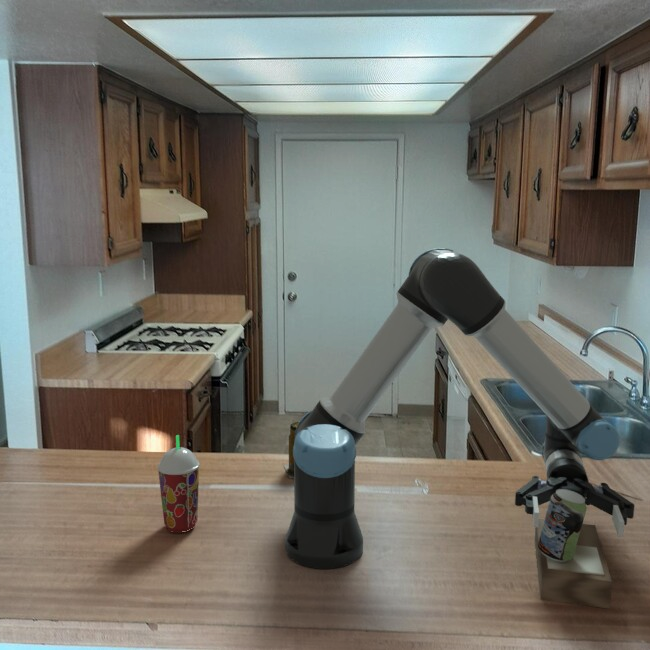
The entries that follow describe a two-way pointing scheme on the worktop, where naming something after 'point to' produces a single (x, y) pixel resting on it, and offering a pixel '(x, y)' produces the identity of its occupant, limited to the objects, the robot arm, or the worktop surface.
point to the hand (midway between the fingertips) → (578, 524)
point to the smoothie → (179, 488)
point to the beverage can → (562, 525)
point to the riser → (576, 572)
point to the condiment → (291, 450)
